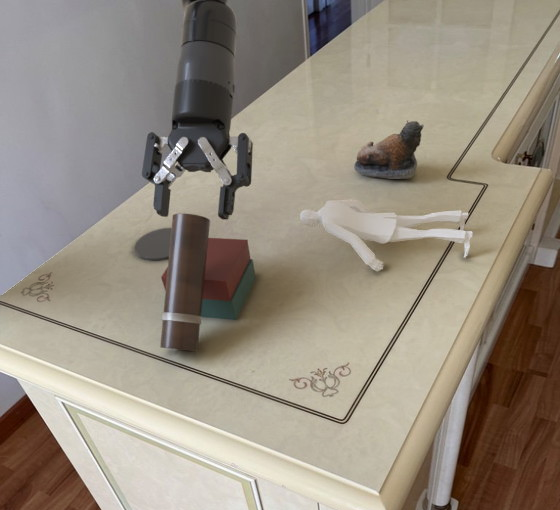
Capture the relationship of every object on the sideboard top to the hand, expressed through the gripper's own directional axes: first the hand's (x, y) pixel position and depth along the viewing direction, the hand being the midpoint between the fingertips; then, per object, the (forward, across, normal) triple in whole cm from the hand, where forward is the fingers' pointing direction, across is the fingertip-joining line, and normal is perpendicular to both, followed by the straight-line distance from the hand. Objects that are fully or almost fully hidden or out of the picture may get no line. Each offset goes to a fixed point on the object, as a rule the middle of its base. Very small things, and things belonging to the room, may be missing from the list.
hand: (192, 216), depth 76 cm
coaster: (0, -13, +19) cm, 23 cm away
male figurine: (-1, +23, +21) cm, 31 cm away
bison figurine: (-18, +21, +37) cm, 46 cm away
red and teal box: (+9, 0, +10) cm, 14 cm away
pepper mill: (+14, 0, +5) cm, 15 cm away
